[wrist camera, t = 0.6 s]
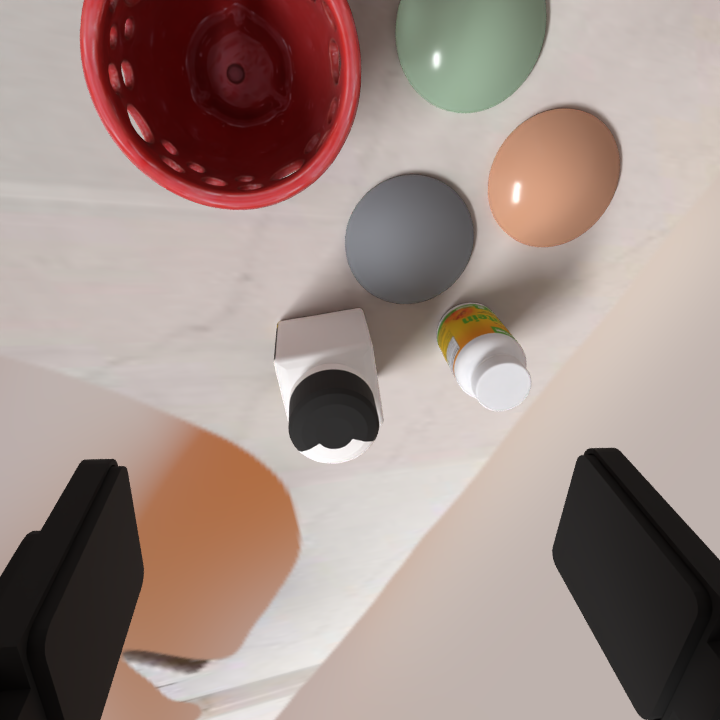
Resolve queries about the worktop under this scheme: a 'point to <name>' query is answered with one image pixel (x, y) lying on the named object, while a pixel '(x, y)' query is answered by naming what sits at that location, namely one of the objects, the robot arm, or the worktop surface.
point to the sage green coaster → (468, 49)
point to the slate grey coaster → (409, 239)
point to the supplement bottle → (484, 356)
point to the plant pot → (225, 91)
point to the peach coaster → (553, 177)
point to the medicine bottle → (329, 384)
